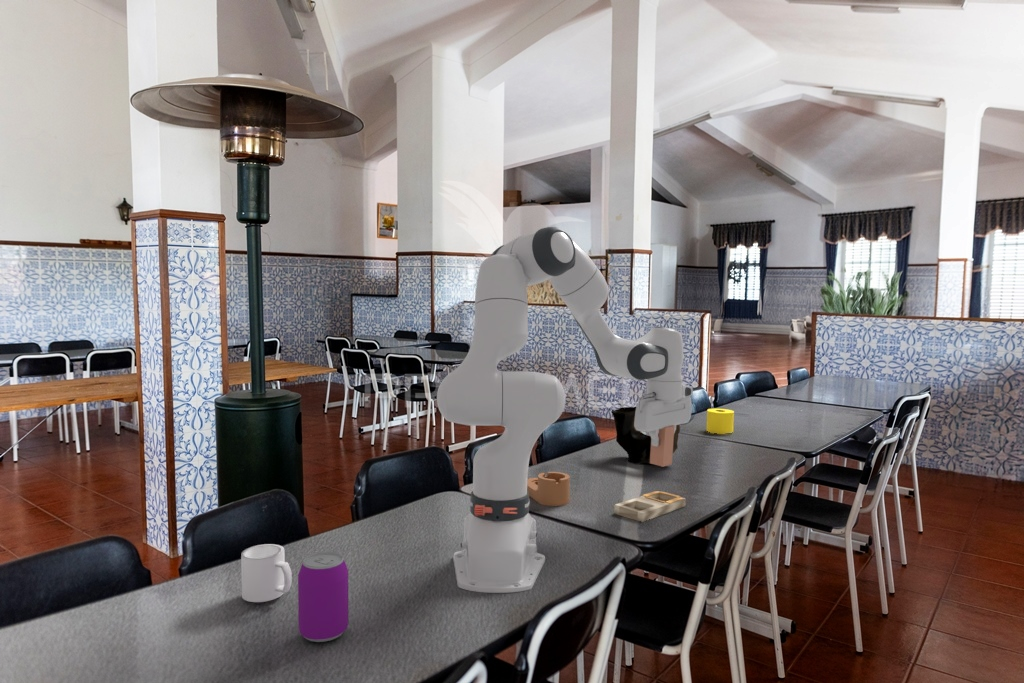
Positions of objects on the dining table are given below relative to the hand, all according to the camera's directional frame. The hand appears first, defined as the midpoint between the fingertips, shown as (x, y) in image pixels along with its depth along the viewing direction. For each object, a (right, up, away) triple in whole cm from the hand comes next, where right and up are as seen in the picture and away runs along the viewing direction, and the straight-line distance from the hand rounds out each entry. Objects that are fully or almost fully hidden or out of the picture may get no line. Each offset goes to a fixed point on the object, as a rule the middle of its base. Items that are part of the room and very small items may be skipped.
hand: (662, 444), depth 173 cm
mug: (-82, -19, -52) cm, 99 cm away
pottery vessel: (+5, -13, +45) cm, 47 cm away
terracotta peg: (0, -5, +1) cm, 5 cm away
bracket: (-29, -16, +9) cm, 34 cm away
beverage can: (-68, -20, -65) cm, 96 cm away
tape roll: (+43, -10, +91) cm, 101 cm away
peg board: (-4, -16, -3) cm, 17 cm away
